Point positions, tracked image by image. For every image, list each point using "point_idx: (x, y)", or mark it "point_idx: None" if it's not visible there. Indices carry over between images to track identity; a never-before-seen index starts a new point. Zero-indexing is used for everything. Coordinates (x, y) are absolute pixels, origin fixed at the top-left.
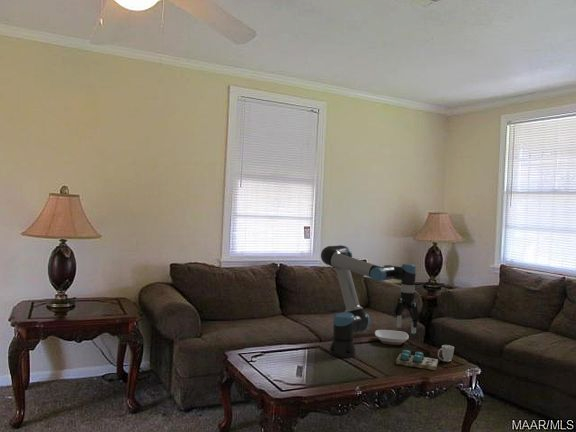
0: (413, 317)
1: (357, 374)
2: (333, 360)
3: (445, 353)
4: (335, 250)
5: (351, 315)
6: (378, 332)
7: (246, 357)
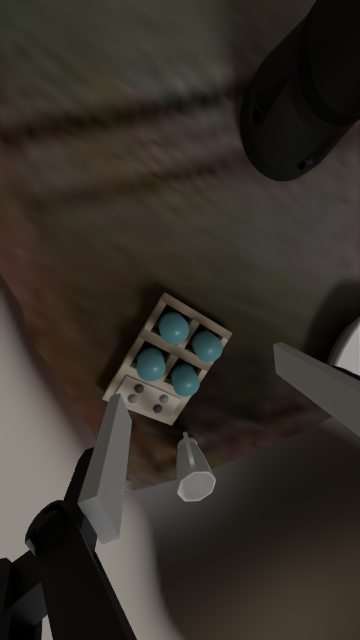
0: (51, 610)
1: (31, 64)
2: (216, 34)
3: (183, 459)
4: None
5: None
6: None
7: None
